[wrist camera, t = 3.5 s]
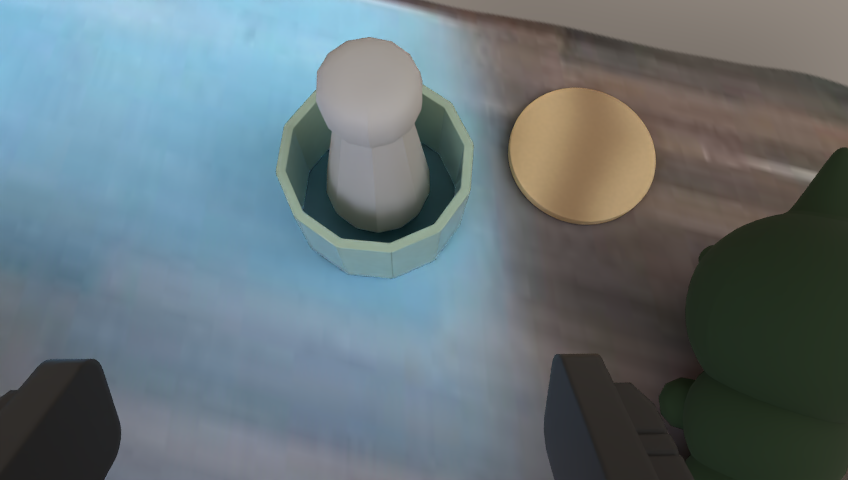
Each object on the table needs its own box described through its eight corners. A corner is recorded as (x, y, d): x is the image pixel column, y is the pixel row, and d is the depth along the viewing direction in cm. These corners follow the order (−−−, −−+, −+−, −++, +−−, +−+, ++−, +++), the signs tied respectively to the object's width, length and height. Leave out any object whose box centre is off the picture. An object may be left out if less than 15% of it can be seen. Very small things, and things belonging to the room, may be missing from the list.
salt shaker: (311, 203, 34) (258, 81, 22) (372, 135, 35) (356, -15, 23) (387, 263, 33) (379, 171, 21) (447, 190, 35) (472, 64, 22)
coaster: (504, 217, 34) (506, 213, 34) (511, 85, 37) (512, 80, 36) (654, 231, 34) (658, 228, 34) (650, 99, 37) (653, 94, 36)
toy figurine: (763, 679, 29) (821, 218, 34) (1371, 1232, 11) (1299, 48, 16) (582, 625, 30) (666, 178, 35) (862, 1069, 11) (954, -34, 16)
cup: (285, 268, 33) (262, 240, 28) (310, 116, 36) (294, 64, 30) (455, 284, 33) (465, 260, 28) (467, 132, 36) (478, 83, 31)
